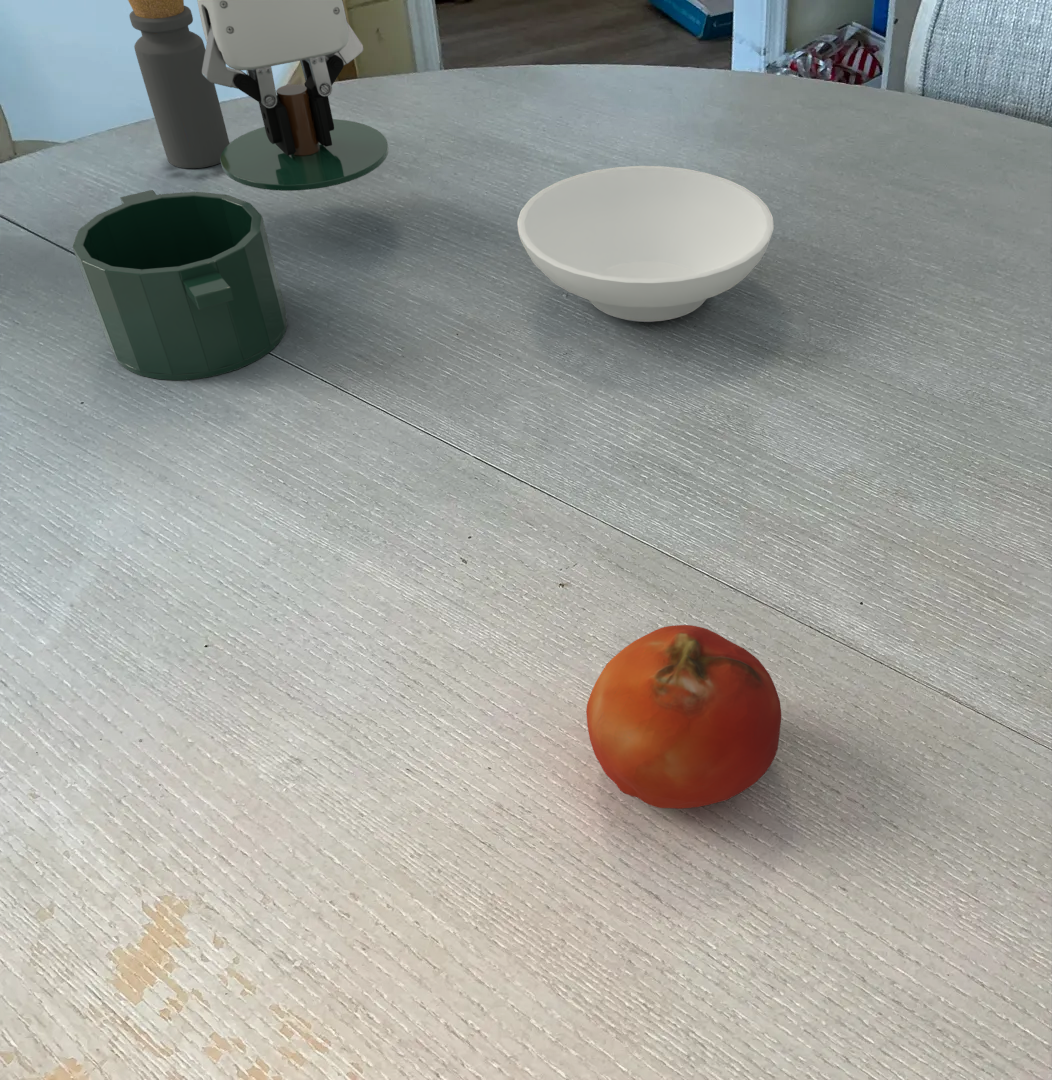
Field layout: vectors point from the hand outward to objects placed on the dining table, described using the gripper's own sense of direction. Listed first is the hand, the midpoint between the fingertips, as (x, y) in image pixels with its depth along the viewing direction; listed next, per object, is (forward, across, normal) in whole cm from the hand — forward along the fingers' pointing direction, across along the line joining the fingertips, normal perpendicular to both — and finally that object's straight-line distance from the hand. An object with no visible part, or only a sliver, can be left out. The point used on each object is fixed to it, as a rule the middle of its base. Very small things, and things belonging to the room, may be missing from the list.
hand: (303, 143), depth 97 cm
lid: (+1, 0, 0) cm, 1 cm away
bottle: (+8, +4, -20) cm, 22 cm away
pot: (+7, +14, +12) cm, 20 cm away
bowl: (+8, -17, +26) cm, 32 cm away
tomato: (+8, +7, +66) cm, 67 cm away
